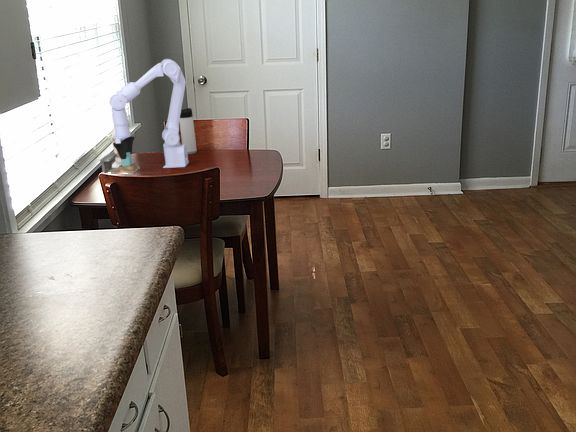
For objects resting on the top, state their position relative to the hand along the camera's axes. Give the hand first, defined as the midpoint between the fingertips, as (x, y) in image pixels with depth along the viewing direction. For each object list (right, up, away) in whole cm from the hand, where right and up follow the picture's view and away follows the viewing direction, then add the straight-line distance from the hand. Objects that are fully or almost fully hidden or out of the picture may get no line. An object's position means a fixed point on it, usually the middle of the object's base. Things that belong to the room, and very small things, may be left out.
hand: (126, 156), depth 269 cm
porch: (-3, -6, +2) cm, 7 cm away
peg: (0, -5, +2) cm, 6 cm away
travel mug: (+22, +4, +29) cm, 37 cm away
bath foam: (-6, 0, +21) cm, 22 cm away
